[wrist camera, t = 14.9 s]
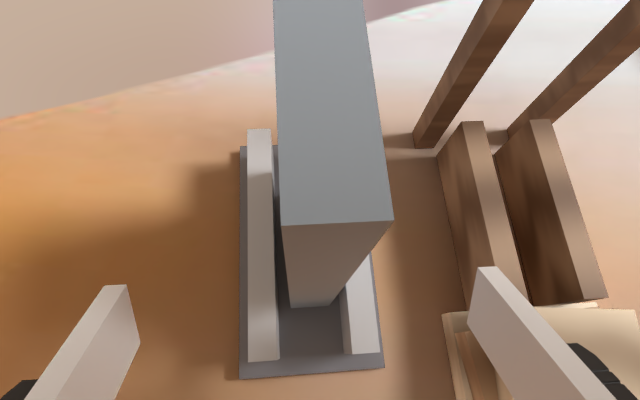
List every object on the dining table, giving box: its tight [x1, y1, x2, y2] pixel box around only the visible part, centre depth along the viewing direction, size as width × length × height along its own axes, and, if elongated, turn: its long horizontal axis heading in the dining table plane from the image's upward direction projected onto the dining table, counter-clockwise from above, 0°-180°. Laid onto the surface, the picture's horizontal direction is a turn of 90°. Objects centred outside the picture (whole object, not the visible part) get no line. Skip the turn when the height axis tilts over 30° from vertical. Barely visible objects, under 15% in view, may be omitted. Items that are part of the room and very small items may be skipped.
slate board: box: [273, 0, 394, 308], centre depth 18 cm, size 8×2×18 cm, turn 4°
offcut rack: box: [412, 0, 640, 400], centre depth 20 cm, size 21×10×18 cm, turn 4°
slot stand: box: [239, 129, 385, 379], centre depth 25 cm, size 16×9×5 cm, turn 4°
